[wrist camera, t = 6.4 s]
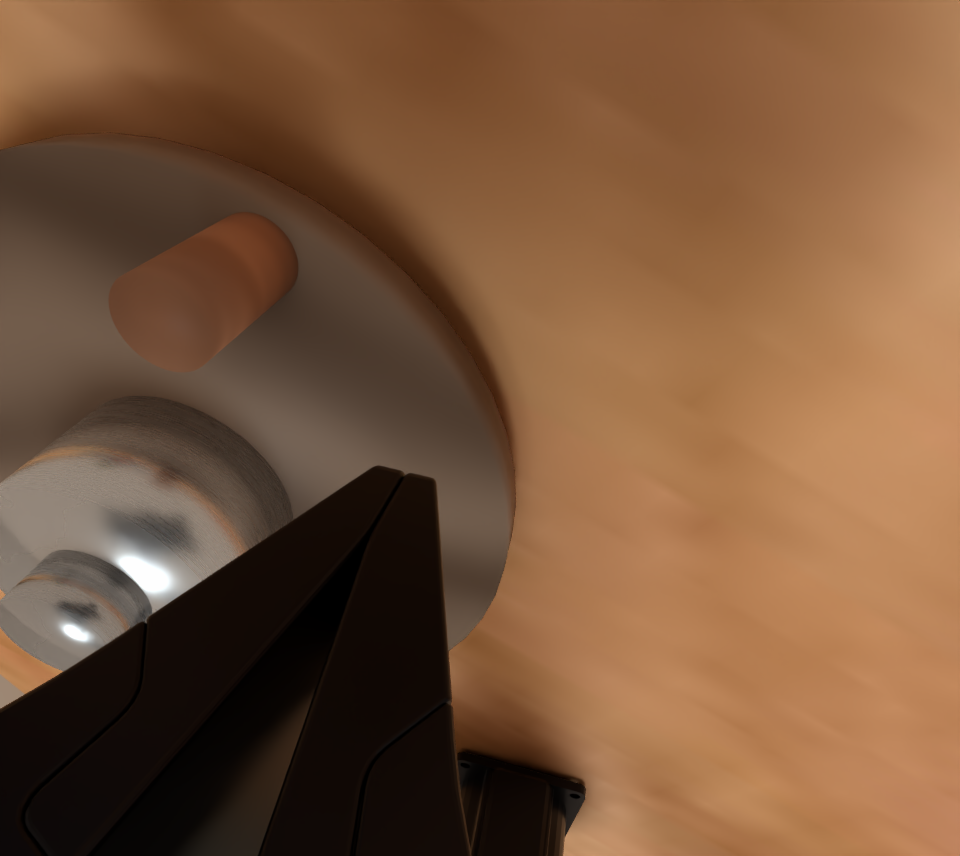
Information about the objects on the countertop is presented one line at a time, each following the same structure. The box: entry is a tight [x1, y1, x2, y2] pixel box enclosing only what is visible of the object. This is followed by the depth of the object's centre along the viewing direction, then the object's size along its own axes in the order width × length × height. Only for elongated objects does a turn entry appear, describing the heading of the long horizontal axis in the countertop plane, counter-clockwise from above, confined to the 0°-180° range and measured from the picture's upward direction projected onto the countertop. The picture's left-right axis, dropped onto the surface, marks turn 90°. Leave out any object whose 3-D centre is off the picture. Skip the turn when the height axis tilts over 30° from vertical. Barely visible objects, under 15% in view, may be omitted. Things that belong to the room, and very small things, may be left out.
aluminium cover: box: [0, 396, 293, 671], centre depth 17 cm, size 7×7×6 cm
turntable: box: [0, 133, 516, 650], centre depth 18 cm, size 20×20×5 cm
